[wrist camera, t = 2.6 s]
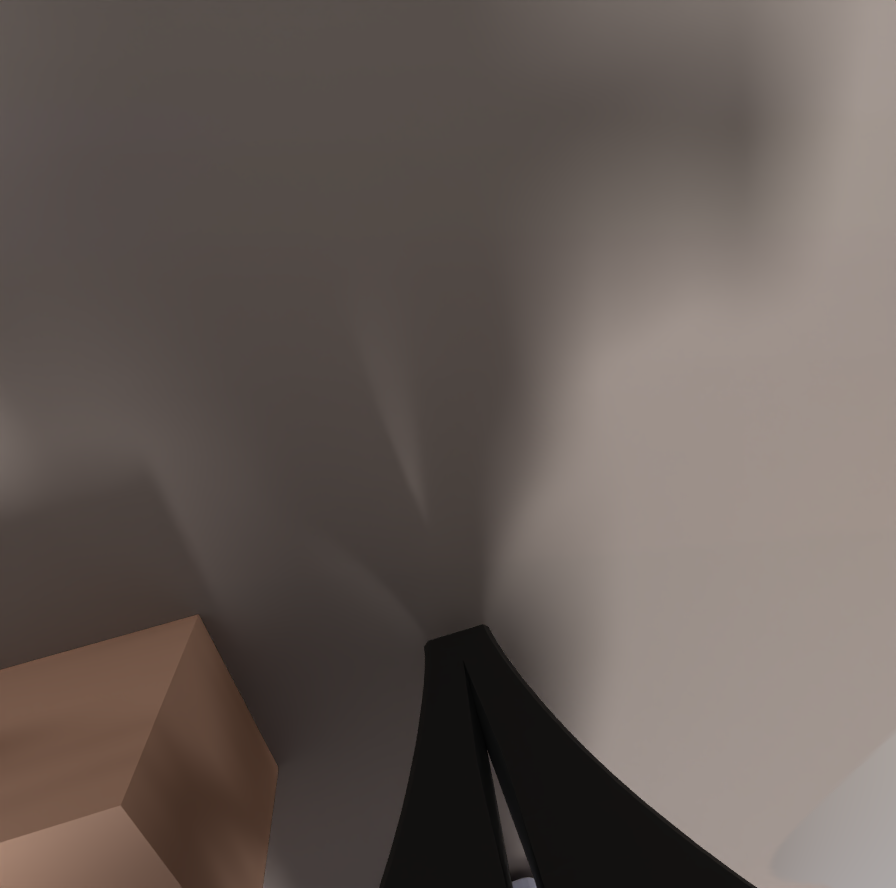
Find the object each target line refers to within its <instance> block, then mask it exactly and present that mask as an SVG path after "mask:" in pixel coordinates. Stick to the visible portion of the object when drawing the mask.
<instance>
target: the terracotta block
mask: <svg viewBox="0 0 896 888" xmlns="http://www.w3.org/2000/svg"><path fill="white" fill-rule="evenodd" d="M278 770H279V768H278V766H277V764H276V762H275V760H274V758H273V756H272V754H271V753H270V751H269V749H268V747H267V745H266V743H265V741H264V739H263V737H262V735H261V733H260V731H259V729H258V728H257V726H256V724H255V722H254V720H253V718H252V716H251V714H250V712H249V710H248V708H247V706H246V704H245V703H244V701H243V699H242V697H241V695H240V693H239V691H238V689H237V687H236V685H235V683H234V681H233V679H232V678H231V676H230V674H229V672H228V670H227V668H226V666H225V664H224V662H223V660H222V658H221V656H220V654H219V652H218V651H217V649H216V647H215V645H214V643H213V641H212V639H211V637H210V635H209V633H208V631H207V629H206V627H205V626H204V624H203V622H202V620H201V618H200V616H199V614H198V615H194V616H191V617H187V618H183V619H180V620H176V621H173V622H169V623H166V624H162V625H158V626H155V627H151V628H148V629H144V630H141V631H137V632H133V633H130V634H126V635H123V636H119V637H116V638H112V639H108V640H105V641H101V642H98V643H94V644H90V645H87V646H83V647H80V648H76V649H73V650H69V651H65V652H62V653H58V654H55V655H51V656H48V657H44V658H40V659H37V660H33V661H30V662H26V663H23V664H19V665H15V666H12V667H8V668H5V669H1V670H0V888H263V881H264V874H265V866H266V859H267V852H268V844H269V837H270V829H271V822H272V814H273V807H274V800H275V792H276V785H277V777H278Z"/></svg>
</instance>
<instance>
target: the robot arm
mask: <svg viewBox="0 0 896 888" xmlns="http://www.w3.org/2000/svg"><path fill="white" fill-rule="evenodd" d="M424 651H425V674H424V687H423V698H422V706H421V713H420V720H419V727H418V734H417V740H416V746H415V751H414V756H413V761H412V766H411V771H410V776H409V781H408V785H407V790H406V794H405V798H404V802H403V807H402V811H401V815H400V818H399V822H398V826H397V830H396V833H395V837H394V841H393V844H392V848H391V851H390V855H389V858H388V861H387V864H386V868H385V871H384V874H383V877H382V880H381V884H380V887H379V888H757V887H755V886H754V885H752V884H751V883H750V882H748V881H747V880H745V879H744V878H742V877H741V876H740V875H738V874H737V873H735V872H734V871H733V870H731V869H730V868H729V867H727V866H726V865H725V864H723V863H722V862H721V861H719V860H718V859H717V858H715V857H714V856H712V855H711V854H710V853H708V852H707V851H706V850H704V849H703V848H702V847H700V846H699V845H698V844H696V843H695V842H694V841H693V840H691V839H690V838H689V837H688V836H686V835H685V834H684V833H683V832H681V831H680V830H679V829H678V828H676V827H675V826H674V825H673V824H671V823H670V822H669V821H668V820H666V819H665V818H664V817H663V816H662V815H660V814H659V813H658V812H657V811H655V810H654V809H653V808H652V807H650V806H649V805H648V804H647V803H645V802H644V801H643V800H642V799H641V798H639V797H638V796H637V795H636V794H635V793H634V792H633V791H632V790H630V789H629V788H628V787H627V786H626V785H625V784H624V783H622V782H621V781H620V780H619V779H618V778H617V777H616V776H615V775H613V774H612V773H611V772H610V771H609V770H608V769H607V768H606V767H605V766H604V765H603V764H602V763H601V762H600V761H598V760H597V759H596V758H595V757H594V756H593V755H592V754H591V753H590V752H589V751H588V750H587V749H586V748H585V747H584V746H583V745H582V744H581V743H580V742H579V741H578V740H577V739H576V738H575V737H574V736H573V735H572V734H571V733H570V732H569V731H568V730H567V728H566V727H565V726H564V725H563V724H562V723H561V722H560V721H559V720H558V719H557V718H556V717H555V716H554V715H553V713H552V712H551V711H550V710H549V709H548V708H547V707H546V706H545V704H544V703H543V702H542V701H541V700H540V699H539V697H538V696H537V695H536V694H535V693H534V691H533V690H532V689H531V688H530V687H529V685H528V684H527V683H526V682H525V681H524V679H523V678H522V677H521V675H520V674H519V673H518V672H517V670H516V669H515V668H514V666H513V665H512V664H511V662H510V661H509V659H508V658H507V657H506V655H505V654H504V652H503V651H502V649H501V648H500V646H499V645H498V643H497V642H496V640H495V638H494V636H493V635H492V633H491V631H490V629H489V627H487V626H485V625H479V626H476V627H473V628H469V629H466V630H463V631H460V632H456V633H453V634H450V635H446V636H443V637H440V638H437V639H433V640H430V641H428V642H427V643H426V645H425V646H424ZM487 750H488V752H487ZM488 753H489V756H490V759H491V761H492V764H493V767H494V769H495V772H496V775H497V778H498V780H499V783H500V786H501V789H502V791H503V794H504V797H505V800H506V802H507V805H508V808H509V811H510V813H511V816H512V819H513V821H514V824H515V827H516V830H517V832H518V835H519V838H520V841H521V843H522V846H523V849H524V852H525V854H526V857H527V860H528V862H529V865H530V868H531V871H532V874H533V877H534V878H531V877H525V878H521V879H518V880H515V881H513V882H512V881H511V876H510V872H509V866H508V861H507V855H506V850H505V844H504V839H503V834H502V828H501V823H500V817H499V812H498V806H497V801H496V795H495V790H494V785H493V779H492V774H491V768H490V763H489V757H488Z"/></svg>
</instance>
